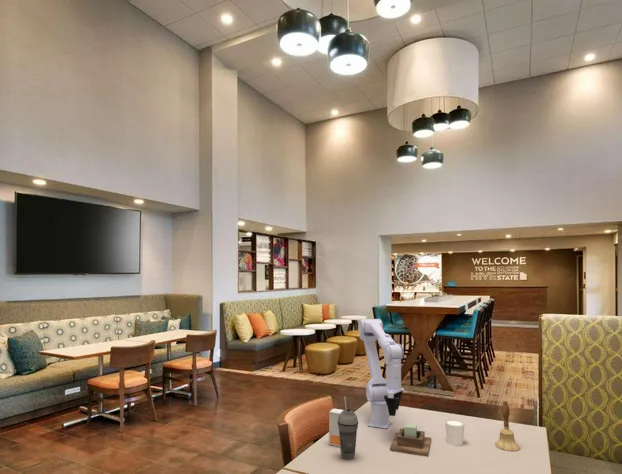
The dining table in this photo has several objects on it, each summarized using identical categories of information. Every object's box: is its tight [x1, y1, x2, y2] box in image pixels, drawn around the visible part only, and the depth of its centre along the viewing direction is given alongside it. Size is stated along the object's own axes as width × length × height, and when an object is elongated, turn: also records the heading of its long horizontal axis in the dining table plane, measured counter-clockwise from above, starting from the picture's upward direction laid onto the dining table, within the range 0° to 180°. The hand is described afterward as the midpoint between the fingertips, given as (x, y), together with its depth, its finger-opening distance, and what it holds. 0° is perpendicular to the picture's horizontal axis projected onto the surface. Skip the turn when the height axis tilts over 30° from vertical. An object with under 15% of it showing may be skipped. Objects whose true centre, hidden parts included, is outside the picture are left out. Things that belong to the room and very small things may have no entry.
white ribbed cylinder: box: [444, 419, 465, 446], centre depth 156 cm, size 7×7×7 cm
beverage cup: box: [337, 395, 359, 461], centre depth 144 cm, size 7×7×20 cm
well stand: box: [389, 428, 432, 457], centre depth 153 cm, size 15×13×4 cm
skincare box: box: [328, 408, 345, 448], centre depth 154 cm, size 6×4×12 cm
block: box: [403, 422, 418, 438], centre depth 153 cm, size 4×4×6 cm
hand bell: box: [494, 400, 521, 452], centre depth 153 cm, size 8×8×16 cm
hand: (393, 412), depth 161 cm, fingers open, 7 cm apart
